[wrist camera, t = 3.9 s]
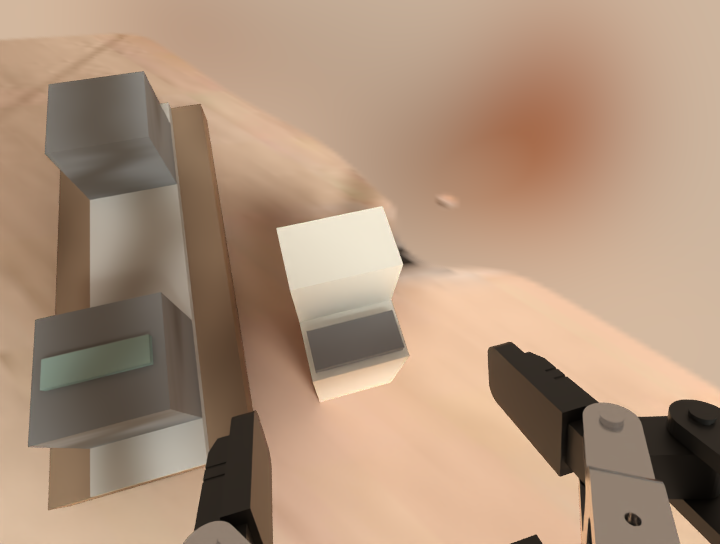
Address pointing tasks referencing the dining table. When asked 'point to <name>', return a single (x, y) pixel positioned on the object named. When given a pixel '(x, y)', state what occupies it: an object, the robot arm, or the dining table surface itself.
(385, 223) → the block
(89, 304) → the rail plate
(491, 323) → the dining table surface
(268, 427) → the dining table surface
